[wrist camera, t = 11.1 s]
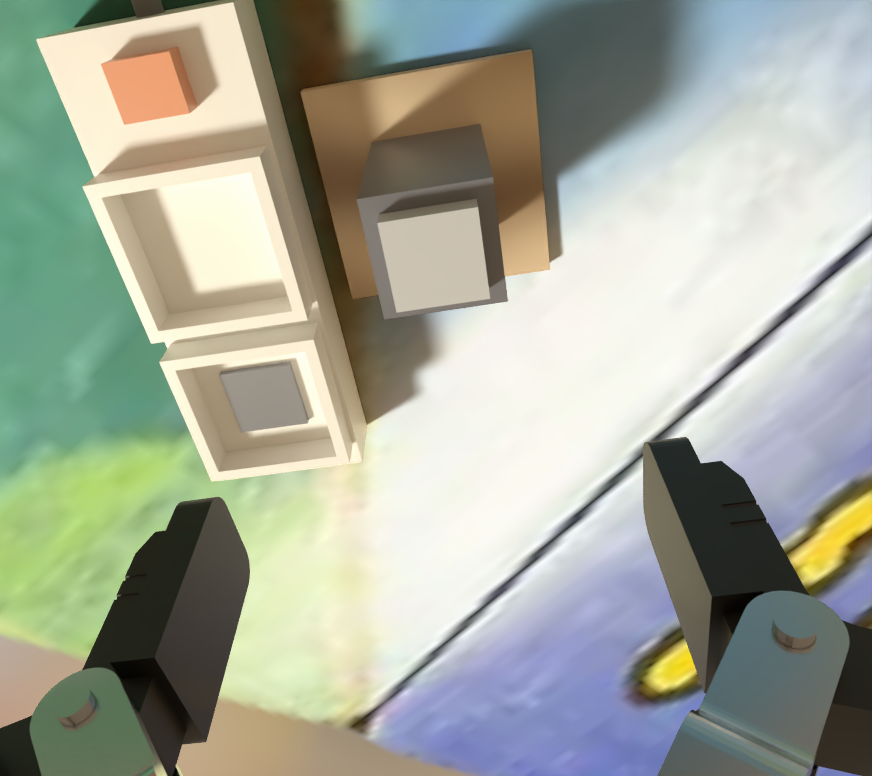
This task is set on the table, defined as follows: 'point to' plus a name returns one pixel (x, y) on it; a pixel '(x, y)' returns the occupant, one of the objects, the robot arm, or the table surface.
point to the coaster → (427, 112)
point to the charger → (432, 222)
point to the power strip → (213, 231)
